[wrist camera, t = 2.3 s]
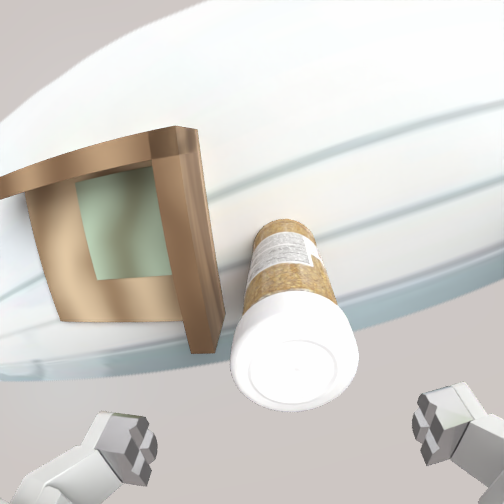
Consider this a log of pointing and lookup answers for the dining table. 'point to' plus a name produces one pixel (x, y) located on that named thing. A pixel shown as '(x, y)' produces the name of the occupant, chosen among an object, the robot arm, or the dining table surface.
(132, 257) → the corner arena
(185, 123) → the dining table surface
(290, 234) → the sprinkles bottle
